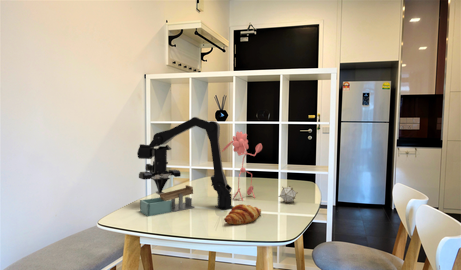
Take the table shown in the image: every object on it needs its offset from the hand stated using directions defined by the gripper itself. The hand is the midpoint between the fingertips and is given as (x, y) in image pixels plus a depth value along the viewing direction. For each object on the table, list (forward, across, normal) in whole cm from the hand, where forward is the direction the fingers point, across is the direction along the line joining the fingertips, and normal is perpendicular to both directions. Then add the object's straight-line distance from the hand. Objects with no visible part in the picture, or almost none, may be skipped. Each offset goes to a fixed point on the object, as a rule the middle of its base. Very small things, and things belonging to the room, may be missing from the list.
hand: (159, 192), depth 140 cm
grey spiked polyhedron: (+5, -53, +32) cm, 62 cm away
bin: (+6, +6, +10) cm, 13 cm away
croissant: (+6, -17, +41) cm, 45 cm away
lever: (0, -4, +5) cm, 6 cm away
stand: (+6, -5, +9) cm, 12 cm away
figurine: (+6, -41, +10) cm, 42 cm away
